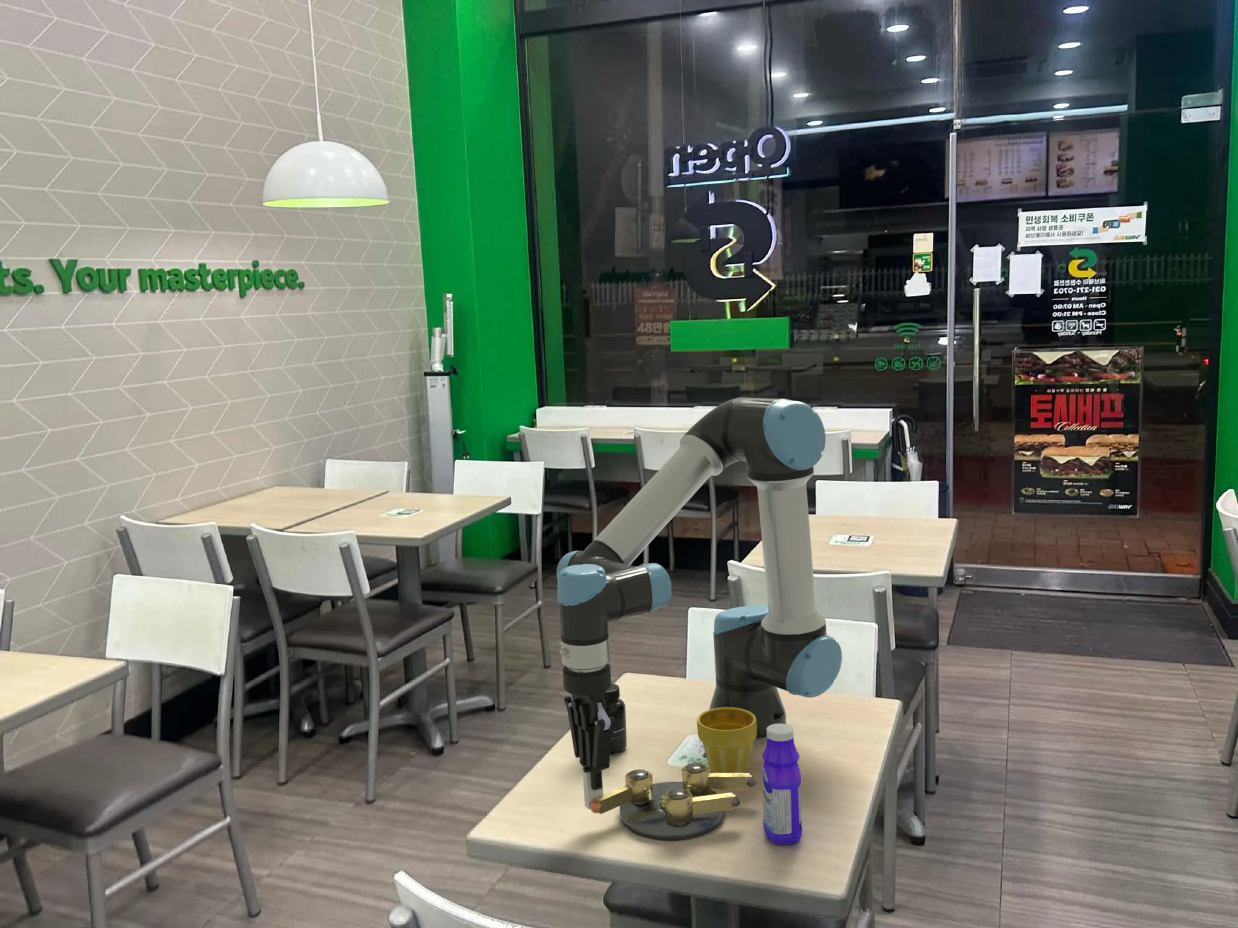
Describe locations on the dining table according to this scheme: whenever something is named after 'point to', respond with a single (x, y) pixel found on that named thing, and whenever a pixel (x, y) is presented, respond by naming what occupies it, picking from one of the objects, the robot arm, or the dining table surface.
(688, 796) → the knob
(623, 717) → the supplement bottle
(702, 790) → the knob left
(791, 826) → the bottle
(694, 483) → the robot arm
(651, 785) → the knob
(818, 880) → the dining table surface
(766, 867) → the dining table surface
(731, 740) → the plant pot
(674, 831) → the tribrach plate
